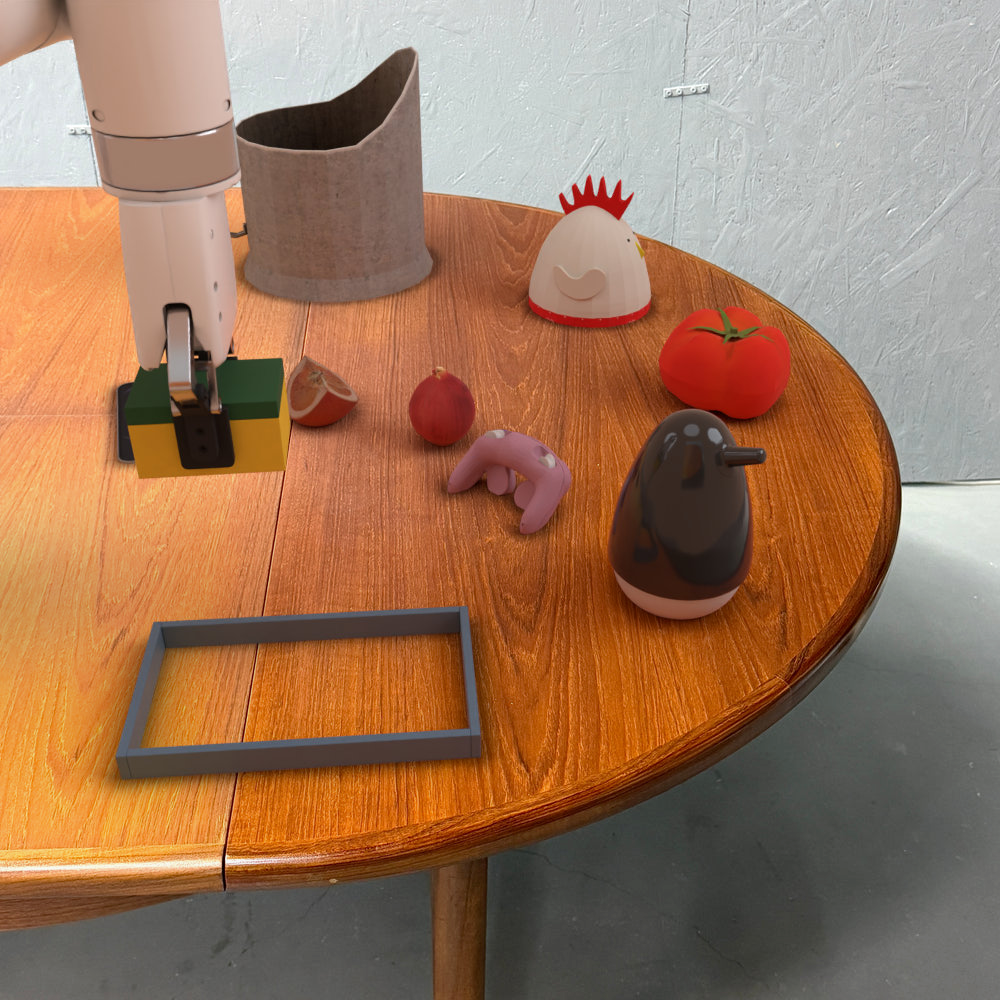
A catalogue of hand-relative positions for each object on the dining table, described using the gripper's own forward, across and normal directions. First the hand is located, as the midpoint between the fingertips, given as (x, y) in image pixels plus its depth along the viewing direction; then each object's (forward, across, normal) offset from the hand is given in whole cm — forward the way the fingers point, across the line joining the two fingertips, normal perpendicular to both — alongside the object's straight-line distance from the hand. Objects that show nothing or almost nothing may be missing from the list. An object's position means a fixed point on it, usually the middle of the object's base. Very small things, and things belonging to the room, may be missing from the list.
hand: (214, 436), depth 69 cm
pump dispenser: (+15, +1, +31) cm, 35 cm away
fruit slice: (+15, -28, +5) cm, 32 cm away
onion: (+15, -22, +16) cm, 31 cm away
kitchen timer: (+15, -52, +35) cm, 64 cm away
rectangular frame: (+15, +10, +5) cm, 18 cm away
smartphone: (+15, -29, -10) cm, 34 cm away
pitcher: (+15, -65, +2) cm, 67 cm away
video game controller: (+15, -12, +21) cm, 28 cm away
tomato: (+15, -27, +43) cm, 53 cm away
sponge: (+1, 0, 0) cm, 1 cm away
